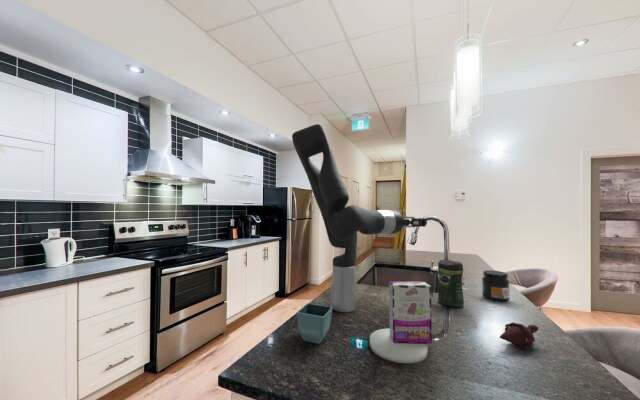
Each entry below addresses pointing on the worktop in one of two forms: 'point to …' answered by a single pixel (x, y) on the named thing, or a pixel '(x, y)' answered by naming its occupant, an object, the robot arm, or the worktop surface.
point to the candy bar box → (410, 312)
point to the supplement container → (495, 286)
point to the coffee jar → (450, 283)
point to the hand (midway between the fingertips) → (413, 221)
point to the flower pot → (314, 322)
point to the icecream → (519, 335)
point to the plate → (396, 348)
